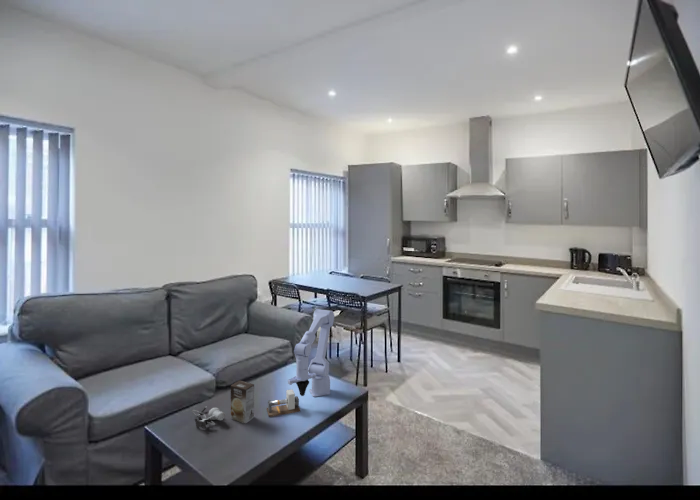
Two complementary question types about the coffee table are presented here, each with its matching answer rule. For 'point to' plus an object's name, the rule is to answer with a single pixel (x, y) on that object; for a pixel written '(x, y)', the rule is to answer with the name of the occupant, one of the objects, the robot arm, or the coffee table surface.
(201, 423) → the clip-on lamp
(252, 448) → the coffee table surface
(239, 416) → the coffee box
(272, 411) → the rod jig
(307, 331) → the robot arm
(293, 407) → the white block on rod
